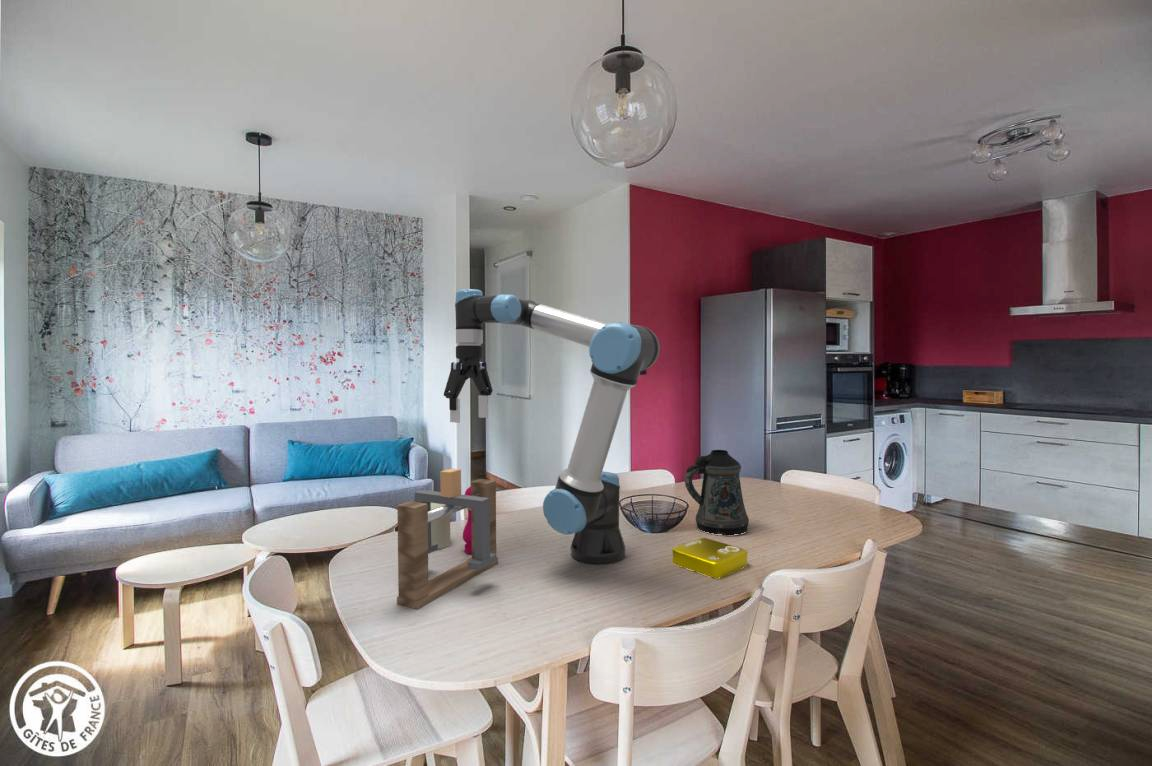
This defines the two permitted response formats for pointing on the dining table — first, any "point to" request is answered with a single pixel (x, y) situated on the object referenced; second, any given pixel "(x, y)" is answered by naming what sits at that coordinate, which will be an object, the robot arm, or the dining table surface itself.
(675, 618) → the dining table surface
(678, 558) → the element tile
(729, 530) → the beer stein
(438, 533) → the can
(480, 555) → the grey arch gate
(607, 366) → the robot arm
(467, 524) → the pepper mill
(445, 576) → the rack
